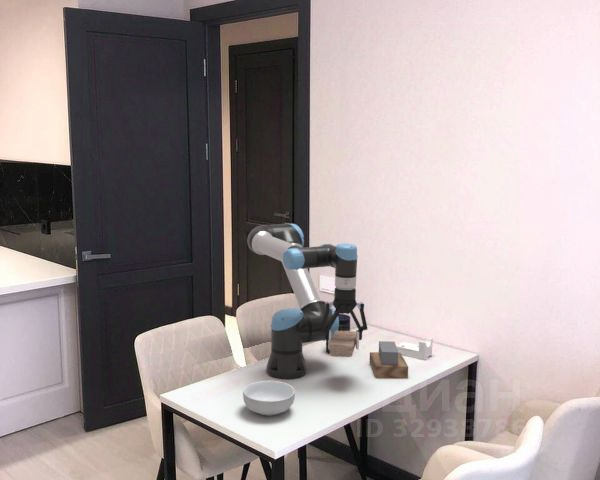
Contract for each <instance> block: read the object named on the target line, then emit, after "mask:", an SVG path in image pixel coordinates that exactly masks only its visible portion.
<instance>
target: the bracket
mask: <svg viewBox="0 0 600 480" xmlns="http://www.w3.org/2000/svg"><path fill="white" fill-rule="evenodd" d="M433 340H434V339H433V338H432V337H426V338H425V340H424V341H421V340H420V341H418V344H415V343H409V342H407V341H402V342H401V343H399V344H396V347H397V350H398V352H400V353H401V355H402V356H403V357H408V358H413V359H416V360H421V361H426V360H427V359H429V357H430V356H431V355H433V344H434V343H433Z"/></svg>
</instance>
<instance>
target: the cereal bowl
mask: <svg viewBox="0 0 600 480" xmlns="http://www.w3.org/2000/svg"><path fill="white" fill-rule="evenodd" d="M242 397H243V398H242V399H243V402H244V404H245V406H246V407H247V408H248V410H250V411H252V412H254V413H256V414H259V415H262V416H266V417H267V416H269V417H270V416H275V415H276V416H277V415H279V414H281V413H284V412H286V411H287V410H289V409H290V408H291V407H292V406H293V404H294V402H295V398H296V389H295V388H294V387H293V386H292V385H291V384H289V383H286V382H284V381H280V380H261V381H260V380H259V381H255V382H252V383H249V384H247V385H246V386H244V388H243V391H242Z"/></svg>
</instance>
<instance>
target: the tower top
mask: <svg viewBox="0 0 600 480" xmlns="http://www.w3.org/2000/svg"><path fill="white" fill-rule="evenodd" d="M396 346H397V344H396V342H395V341H389V340H388V341H385V340H382V341H381V340H380V341H378V352H379V357H380V361H381V365H398V350H397V347H396Z"/></svg>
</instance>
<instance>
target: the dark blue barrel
mask: <svg viewBox="0 0 600 480" xmlns="http://www.w3.org/2000/svg"><path fill="white" fill-rule="evenodd" d="M338 318H339V328H338V331H351V316H350V315H349V314H346V313H344V314H339V315H338ZM331 340H332V339H331ZM325 349H326V350H325V353H326V354H328V355H330V354H329V353H330V350H329V349H328V340H325Z"/></svg>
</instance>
